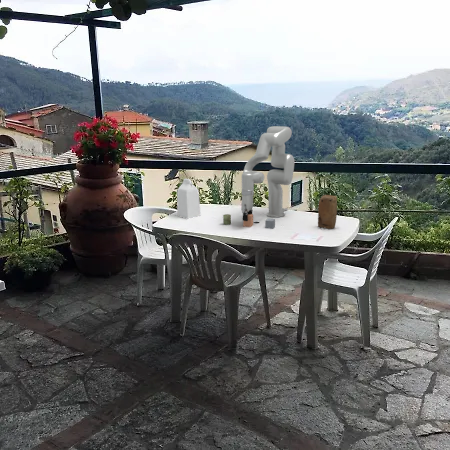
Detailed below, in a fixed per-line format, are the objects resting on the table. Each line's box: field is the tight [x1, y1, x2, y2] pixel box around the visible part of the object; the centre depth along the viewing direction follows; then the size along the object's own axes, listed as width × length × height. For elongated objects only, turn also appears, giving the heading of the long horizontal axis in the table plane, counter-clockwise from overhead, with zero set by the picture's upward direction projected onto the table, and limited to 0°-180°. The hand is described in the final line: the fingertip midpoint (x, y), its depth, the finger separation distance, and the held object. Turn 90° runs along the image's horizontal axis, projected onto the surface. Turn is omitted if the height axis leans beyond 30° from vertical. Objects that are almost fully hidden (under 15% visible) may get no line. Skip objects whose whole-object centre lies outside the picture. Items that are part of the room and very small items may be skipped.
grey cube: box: [264, 218, 276, 230], centre depth 283 cm, size 5×5×5 cm
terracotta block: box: [242, 213, 254, 228], centre depth 287 cm, size 5×5×7 cm
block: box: [317, 194, 338, 230], centre depth 277 cm, size 11×8×20 cm
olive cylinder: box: [222, 213, 232, 226], centre depth 293 cm, size 5×5×6 cm
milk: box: [176, 178, 202, 220], centre depth 313 cm, size 12×12×26 cm
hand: (247, 219), depth 287 cm, fingers open, 9 cm apart
